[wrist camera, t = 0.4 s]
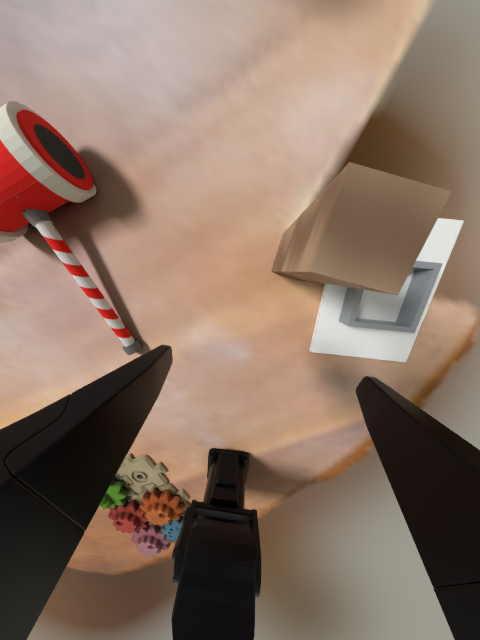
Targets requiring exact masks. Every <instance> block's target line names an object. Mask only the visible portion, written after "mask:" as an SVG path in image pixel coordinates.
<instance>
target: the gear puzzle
mask: <svg viewBox="0 0 480 640" xmlns="http://www.w3.org/2000/svg"><path fill="white" fill-rule="evenodd" d="M166 472H167V469H166V467H165V466H164V465H163V463H162V462H159V463H158V464H155V462H154V461H153V460H152V459H151V458H150V457H149V456H148V455H141V456H138V457H136V458H134V457H133V455H132V454H131V453H130V454H127V455H126V457H125V459H124V460H123V462H122V464H121V466H120V468H119V470H118V472H117V473H116V475H115V477H114V479H113V481H112V483H111V484H110V486H109V488H108V490H107V492H106V494H105V495H104V497H103V499H102V501H101V503H100V505H99V506H101V507H102V508H103V509H107V508H109V507H110V513H109V515H108V517H109V518H111V519H112V520H114V523H113V526H115V527H116V530H119V531H121V532H122V533H125V532H127V533H131V532H132V533H133V535H132V538H131V540H132V541H133V542H134V543H136V544H137V547H136V549H137V550H139V552H140V553H141V554H144V555H145V556H148V555H150V556H154V554H158V553H160V552H161V550H165V549H168V548H169V546H170V542H172V541H174V543H175V544H176V541H177V538H178V535H179V533H180V530H181V527H182V523H183V520H184V516H185V512H186V508H188V507H189V504H188V503H187V502H186V500H187V499H188V498H189V495H188V494H187V493H186V492H185V490H184V489H181V490H180V491H177V489H176V488H175V487H174V486H173V485H172V484H171V483H168V478H167V477H166V476H165V475H164V474H163V473H166ZM141 475H142V476H141Z"/></svg>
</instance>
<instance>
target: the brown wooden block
mask: <svg viewBox="0 0 480 640" xmlns="http://www.w3.org/2000/svg"><path fill="white" fill-rule="evenodd" d="M451 192H452V191H448V190H444V189H441V188H437V187H434V186H431V185H427V184H423V183H420V182H417V181H413V180H410V179H406V178H403V177H399V176H396V175H392V174H389V173H385V172H382V171H378V170H375V169H372V168H368V167H364V166H361V165H358V164H354V163H351V162H350V163H349V164H348V165H347V166H346V167H345V168H344V169H343V170H342V171H341V172H340V173H339V174H338V175H337V176H336V178H335V179H334V180H333V181H332V182H331V183H330V184H329V185H328V186H327V187H326V188H325V189H324V190H323V192H322V193H321V194H320V195H319V196H318V197H317V198H316V199H315V200H314V201H313V202H312V203H311V204H310V206H309V207H308V208H307V209H306V210H305V211H304V212H303V213H302V214H301V215H300V216H299V217H298V219H297V220H296V221H295V222H294V223H293V224H292V225H291V226H290V227H289V228H288V229H287V230H286V231H285V233H284V234H283V235H282V238H281V241H280V245H279V248H278V251H277V255H276V258H275V262H274V265H273V268H272V272H276V273H279V274H283V275H287V276H291V277H294V278H298V279H302V280H306V281H312V282H318V283H324V284H331V285H337V286H343V287H349V288H355V289H361V290H368V291H374V292H380V293H386V294H392V295H398V294H399V292H400V290H401V288H402V286H403V285H404V283H405V281H406V279H407V277H408V275H409V273H410V271H411V269H412V267H413V265H414V263H415V262H416V260H417V258H418V256H419V254H420V252H421V250H422V248H423V246H424V244H425V242H426V240H427V238H428V237H429V235H430V233H431V231H432V229H433V227H434V225H435V223H436V221H437V219H438V217H439V215H440V213H441V211H442V209H443V208H444V206H445V204H446V202H447V200H448V198H449V196H450V194H451Z"/></svg>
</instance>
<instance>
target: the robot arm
mask: <svg viewBox="0 0 480 640" xmlns="http://www.w3.org/2000/svg"><path fill="white" fill-rule="evenodd" d="M172 360H173V358H172V348H171V346H167V345H160V346H158V347H157V348H155V349H153V350H151V351H149V352H147V353H145V354H144V355H142V356H140V357H138V358H136V359H134V360H132V361H131V362H129V363H127V364H125V365H123V366H121V367H119V368H118V369H116V370H114V371H112V372H110V373H108V374H106V375H105V376H103V377H101V378H99V379H97V380H95V381H93V382H92V383H90V384H88V385H86V386H84V387H82V388H80V389H79V390H77V391H75V392H73V393H72V394H69V395H67V396H65V397H64V398H62V399H60V400H58V401H56V402H54V403H52V404H50V405H49V406H47V407H45V408H43V409H41V410H39V411H37V412H35V413H33V414H31V415H29V416H27V417H25V418H23V419H21V420H19V421H17V422H15V423H13V424H11V425H9V426H7V427H5V428H2V429H0V640H27V638H28V636H29V634H30V632H31V630H32V629H33V627H34V625H35V623H36V621H37V619H38V617H39V616H40V614H41V612H42V610H43V608H44V606H45V605H46V603H47V601H48V599H49V597H50V595H51V593H52V592H53V590H54V588H55V586H56V584H57V582H58V581H59V579H60V577H61V575H62V573H63V571H64V569H65V568H66V566H67V564H68V562H69V560H70V558H71V557H72V555H73V553H74V551H75V549H76V547H77V546H78V544H79V542H80V540H81V538H82V536H83V535H84V531H85V530H86V529H87V527H88V525H89V523H90V521H91V519H92V518H93V516H94V514H95V512H96V510H97V508H98V507H99V505H100V503H101V501H102V499H103V497H104V495H105V494H106V492H107V490H108V488H109V486H110V484H111V483H112V481H113V479H114V477H115V475H116V473H117V472H118V470H119V468H120V466H121V464H122V462H123V460H124V459H125V457H126V455H127V453H128V451H129V449H130V448H131V446H132V444H133V442H134V440H135V438H136V437H137V435H138V433H139V431H140V429H141V427H142V425H143V424H144V422H145V420H146V418H147V416H148V414H149V413H150V411H151V409H152V407H153V405H154V403H155V402H156V400H157V398H158V396H159V394H160V391H161V389H162V387H163V384H164V382H165V379H166V377H167V374H168V372H169V370H170V367H171V365H172ZM356 394H357V397H358V400H359V404H360V407H361V410H362V413H363V417H364V420H365V423H366V426H367V428H368V431H369V434H370V436H371V438H372V441H373V443H374V446H375V448H376V450H377V453H378V455H379V458H380V460H381V462H382V465H383V467H384V469H385V472H386V475H387V477H388V479H389V482H390V484H391V486H392V489H393V491H394V494H395V496H396V498H397V501H398V503H399V506H400V508H401V511H402V513H403V515H404V518H405V520H406V523H407V525H408V528H409V530H410V532H411V535H412V537H413V540H414V542H415V544H416V547H417V549H418V552H419V554H420V557H421V559H422V561H423V564H424V566H425V569H426V571H427V573H428V576H429V578H430V580H431V583H432V585H433V587H434V591H435V593H436V596H437V598H438V600H439V603H440V605H441V608H442V610H443V612H444V615H445V617H446V620H447V622H448V625H449V627H450V629H451V632H452V634H453V637H454V639H455V640H480V450H479V449H477V448H476V447H474V446H473V445H472V444H470V443H469V442H467V441H466V440H464V439H463V438H461V437H460V436H459V435H457V434H456V433H454V432H453V431H451V430H450V429H449V428H447V427H446V426H444V425H443V424H441V423H440V422H439V421H437V420H436V419H434V418H433V417H431V416H430V415H428V414H427V413H426V412H424V411H423V410H421V409H420V408H419V407H417V406H416V405H414V404H413V403H411V402H410V401H409V400H407V399H406V398H404V397H403V396H401V395H400V394H399V393H397V392H396V391H394V390H393V389H391V388H390V387H388V386H387V385H386V384H384V383H383V382H381V381H380V380H378V379H377V378H375V377H369V376H365V377H364V378H363V379H362V380H361V382H360V383H359V385H358V386H357V388H356ZM248 463H249V454H248V453H243V452H234V451H226V450H218V449H210V450H209V456H208V473H207V479H208V480H207V486H206V491H205V496H204V501H203V502H198V501H197V500H192V504H191V506H190V507H188V508H186V512H185V516H184V520H183V523H182V527H181V530H180V533H179V535H178V538H177V541H176V544H175V547H174V550H173V554H172V559H173V562H174V577H173V584H175V585H178V589H177V593H176V598H175V603H174V608H173V613H172V631H173V632H172V633H173V640H253V639H254V628H255V598H258V597H259V594H260V585H261V550H260V540H259V529H258V519H257V510H254V509H252V510H248V509H244V497H245V483H246V477H247V470H248Z"/></svg>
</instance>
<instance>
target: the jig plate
mask: <svg viewBox="0 0 480 640" xmlns="http://www.w3.org/2000/svg"><path fill="white" fill-rule="evenodd" d="M462 224H463V221H462V220H452V219H441V218H438V219H437V221H436V223H435V225H434V227H433V229H432V231H431V233H430V235H429V237H428V238H427V240H426V242H425V244H424V246H423V248H422V250H421V252H420V254H419V256H418V258H417V260H416V262H415V263H414V265H413V267H412V269H411V271H410V273H409V275H408V277H407V279H406V281H405V283H404V285H403V286H402V288H401V290H400V292H399V294H398V295H392V294H386V293H380V292H374V291H368V290H361V289H355V288H349V287H343V286H337V285H331V284H324V288H323V292H322V297H321V301H320V306H319V310H318V314H317V319H316V323H315V328H314V332H313V336H312V341H311V345H310V350H309V351H310V352H315V353H324V354H333V355H343V356H352V357H361V358H371V359H380V360H389V361H399V362H406V361H407V359H408V356H409V354H410V352H411V349H412V347H413V344H414V342H415V339H416V337H417V334H418V332H419V329H420V327H421V325H422V322H423V320H424V317H425V315H426V312H427V310H428V307H429V305H430V303H431V300H432V298H433V295H434V293H435V290H436V288H437V285H438V283H439V280H440V278H441V275H442V273H443V270H444V268H445V266H446V263H447V261H448V258H449V256H450V253H451V251H452V249H453V246H454V244H455V241H456V239H457V236H458V234H459V231H460V229H461V227H462Z"/></svg>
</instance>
